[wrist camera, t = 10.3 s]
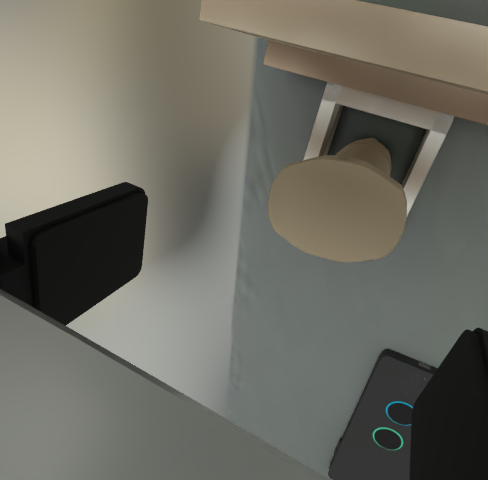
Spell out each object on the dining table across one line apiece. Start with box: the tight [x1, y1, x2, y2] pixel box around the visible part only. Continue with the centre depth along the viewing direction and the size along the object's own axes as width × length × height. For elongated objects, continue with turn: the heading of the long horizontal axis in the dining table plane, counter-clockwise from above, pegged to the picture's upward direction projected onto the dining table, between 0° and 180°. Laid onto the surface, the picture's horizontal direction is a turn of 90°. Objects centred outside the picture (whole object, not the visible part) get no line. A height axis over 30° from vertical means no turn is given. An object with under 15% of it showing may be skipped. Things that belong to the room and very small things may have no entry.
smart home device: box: [328, 349, 437, 480], centre depth 38 cm, size 8×2×20 cm
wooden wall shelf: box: [199, 0, 488, 215], centre depth 23 cm, size 13×18×14 cm
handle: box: [268, 138, 407, 262], centre depth 23 cm, size 5×6×15 cm
